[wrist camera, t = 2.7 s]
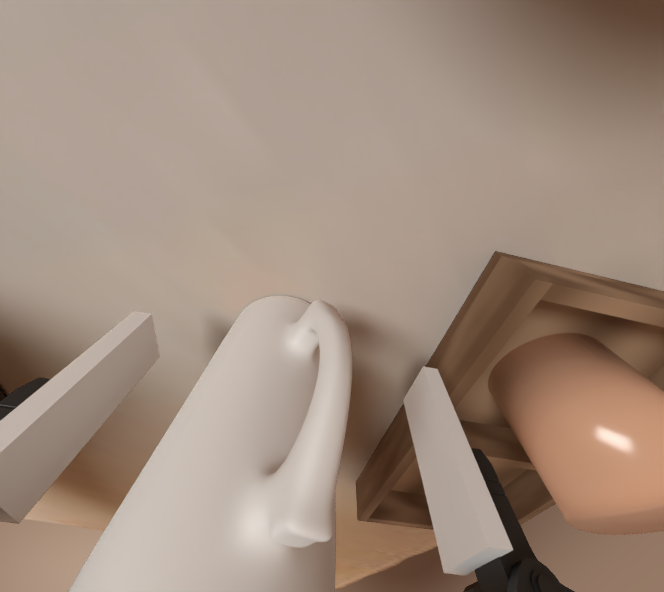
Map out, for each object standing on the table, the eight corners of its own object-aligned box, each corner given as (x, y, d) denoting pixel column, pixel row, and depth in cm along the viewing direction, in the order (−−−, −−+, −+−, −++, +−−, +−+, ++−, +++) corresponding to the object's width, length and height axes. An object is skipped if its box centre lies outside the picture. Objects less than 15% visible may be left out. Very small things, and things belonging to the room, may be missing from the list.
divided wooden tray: (355, 482, 27) (357, 520, 24) (495, 251, 13) (535, 279, 10) (483, 500, 28) (498, 537, 25) (731, 307, 14) (820, 345, 12)
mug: (305, 384, 19) (263, 677, 9) (217, 346, 17) (32, 659, 7) (393, 285, 14) (532, 660, 4) (286, 218, 12) (37, 589, 2)
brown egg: (468, 398, 18) (531, 525, 12) (529, 322, 14) (661, 449, 9) (556, 413, 19) (656, 541, 13) (635, 345, 15) (826, 478, 9)
